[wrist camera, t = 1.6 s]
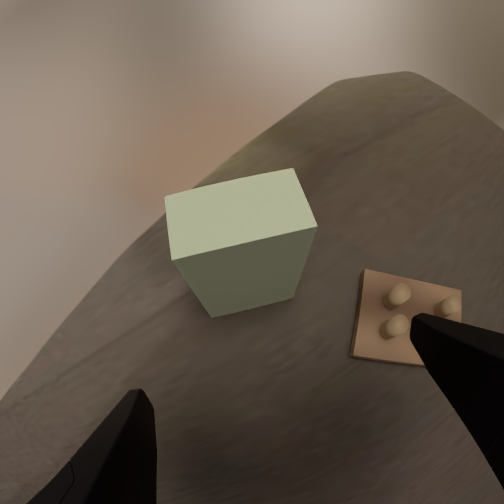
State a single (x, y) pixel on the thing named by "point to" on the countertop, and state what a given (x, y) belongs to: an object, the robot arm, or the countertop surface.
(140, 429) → the robot arm
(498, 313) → the countertop surface
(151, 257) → the countertop surface
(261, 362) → the countertop surface
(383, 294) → the peg rest
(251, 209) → the sage green box
